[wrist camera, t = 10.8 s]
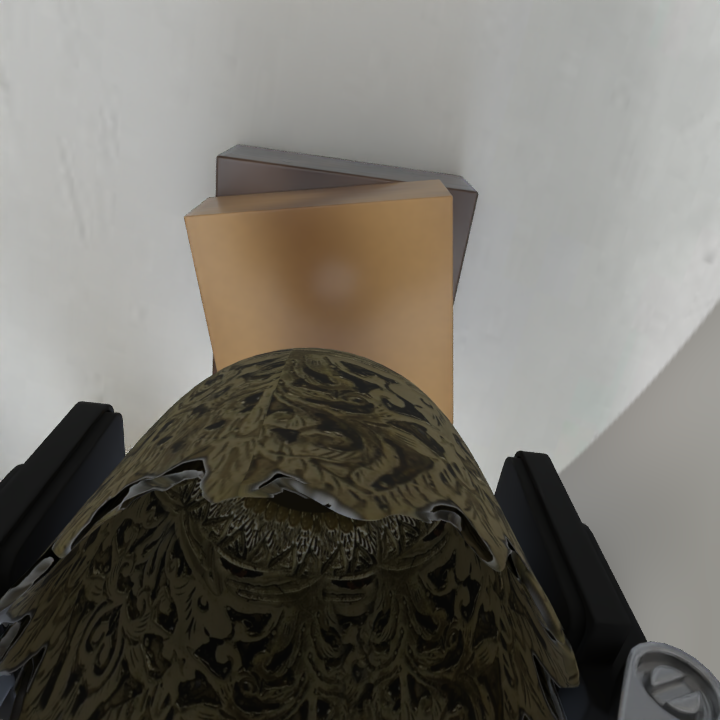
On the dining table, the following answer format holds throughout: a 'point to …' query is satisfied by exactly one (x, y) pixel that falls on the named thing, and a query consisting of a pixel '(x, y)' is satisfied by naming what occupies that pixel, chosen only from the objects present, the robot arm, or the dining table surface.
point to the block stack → (333, 261)
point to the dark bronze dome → (289, 567)
